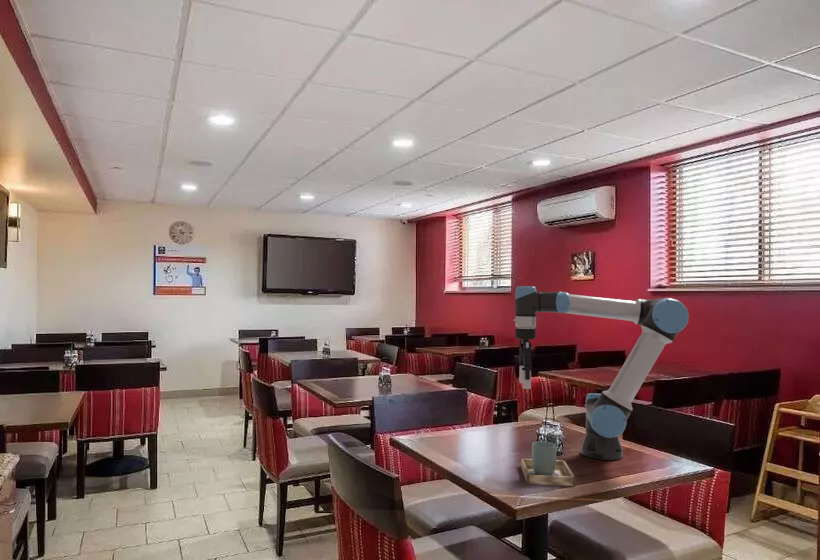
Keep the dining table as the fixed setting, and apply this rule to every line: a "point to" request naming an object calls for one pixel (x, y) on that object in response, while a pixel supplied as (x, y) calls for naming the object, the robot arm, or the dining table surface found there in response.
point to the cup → (543, 457)
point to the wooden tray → (561, 469)
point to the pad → (536, 474)
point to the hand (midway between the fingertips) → (524, 385)
